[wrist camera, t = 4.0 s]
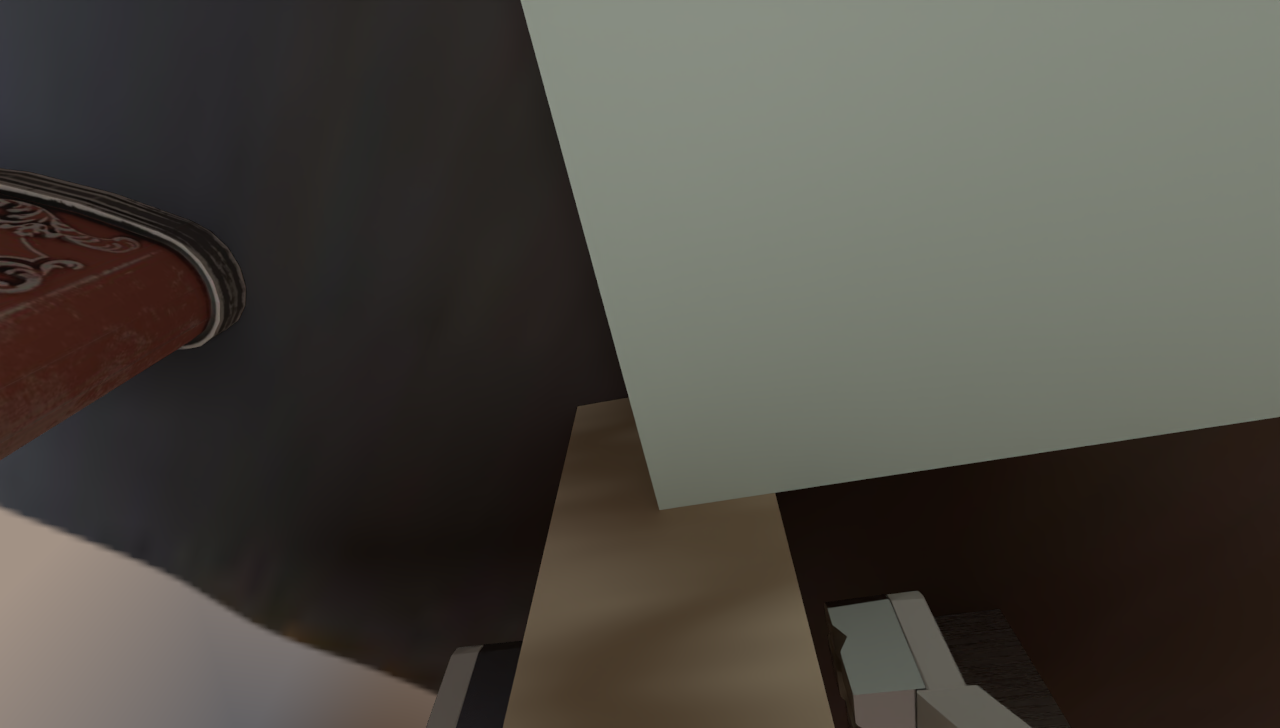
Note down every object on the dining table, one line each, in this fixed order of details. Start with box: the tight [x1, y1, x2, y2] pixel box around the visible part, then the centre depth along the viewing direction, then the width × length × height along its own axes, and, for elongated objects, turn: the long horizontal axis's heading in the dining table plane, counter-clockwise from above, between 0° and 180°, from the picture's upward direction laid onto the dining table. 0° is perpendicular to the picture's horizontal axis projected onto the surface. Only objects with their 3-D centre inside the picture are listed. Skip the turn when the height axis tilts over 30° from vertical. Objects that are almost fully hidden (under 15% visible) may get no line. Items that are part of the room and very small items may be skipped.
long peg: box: [503, 397, 835, 728], centre depth 10 cm, size 4×4×12 cm
